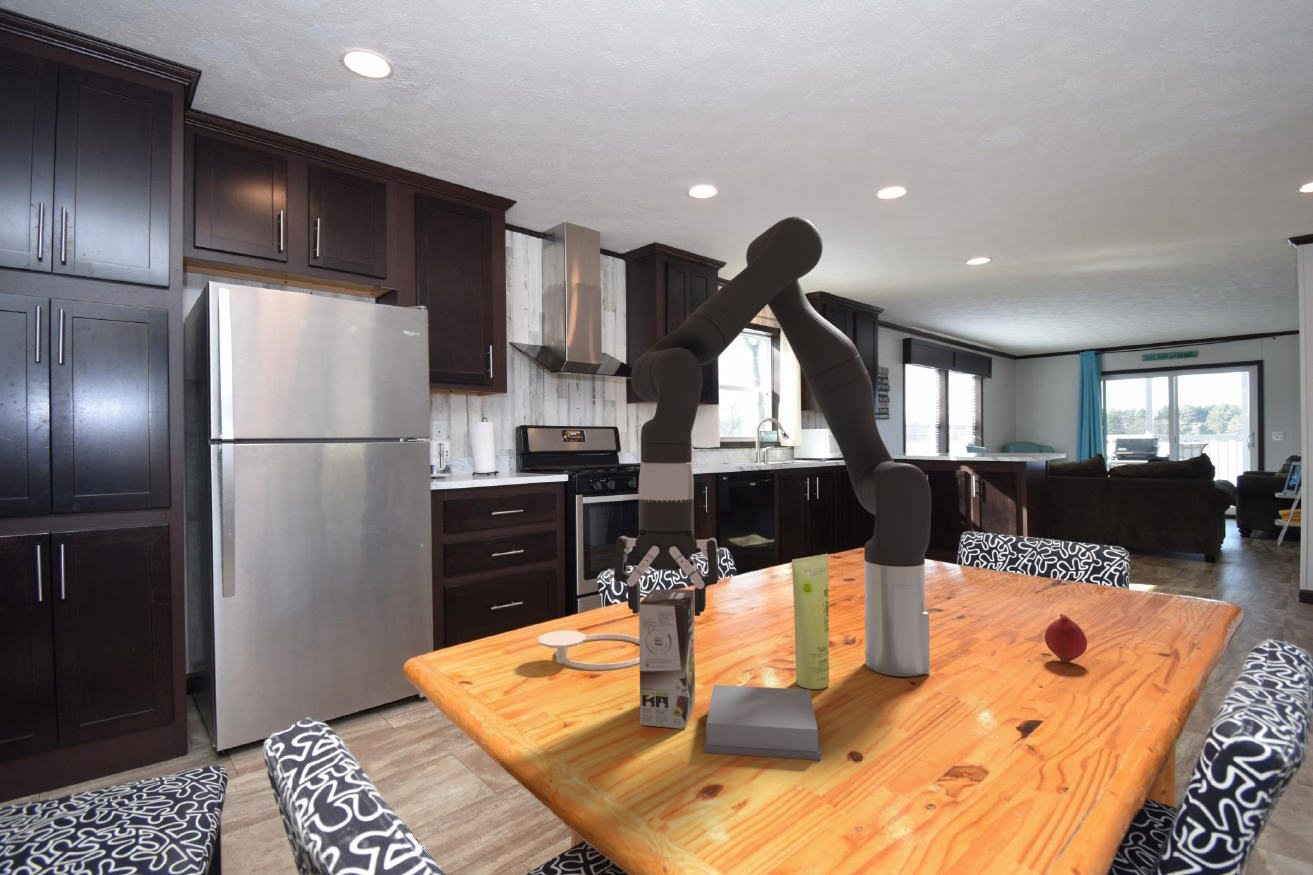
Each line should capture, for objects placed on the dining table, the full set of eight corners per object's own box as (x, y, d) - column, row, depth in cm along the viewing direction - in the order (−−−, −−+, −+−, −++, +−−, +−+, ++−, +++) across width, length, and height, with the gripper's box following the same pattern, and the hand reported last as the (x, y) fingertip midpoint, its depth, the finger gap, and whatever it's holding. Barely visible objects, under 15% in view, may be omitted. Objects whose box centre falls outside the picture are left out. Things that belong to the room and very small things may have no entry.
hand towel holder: (670, 634, 110) (559, 656, 99) (670, 660, 110) (559, 685, 99) (623, 611, 125) (521, 629, 114) (623, 634, 125) (521, 653, 114)
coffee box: (687, 730, 83) (685, 605, 83) (638, 726, 84) (637, 603, 84) (697, 701, 92) (695, 588, 92) (652, 698, 93) (651, 587, 93)
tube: (828, 693, 94) (827, 560, 94) (793, 689, 95) (791, 558, 95) (830, 679, 99) (828, 553, 99) (796, 676, 101) (795, 552, 101)
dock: (812, 713, 87) (811, 688, 87) (820, 760, 75) (820, 730, 75) (711, 708, 89) (711, 683, 89) (704, 752, 77) (703, 724, 77)
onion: (1083, 659, 107) (1083, 611, 107) (1090, 670, 102) (1089, 620, 102) (1043, 654, 109) (1042, 607, 109) (1047, 665, 104) (1047, 616, 104)
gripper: (720, 493, 91) (720, 608, 91) (621, 492, 93) (621, 604, 93) (716, 498, 83) (716, 623, 83) (609, 497, 86) (609, 619, 86)
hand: (666, 613), depth 88 cm, fingers open, 8 cm apart
